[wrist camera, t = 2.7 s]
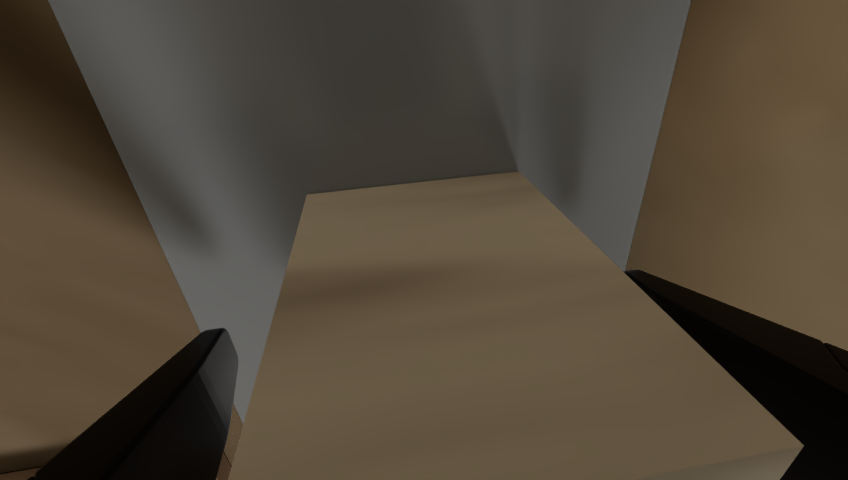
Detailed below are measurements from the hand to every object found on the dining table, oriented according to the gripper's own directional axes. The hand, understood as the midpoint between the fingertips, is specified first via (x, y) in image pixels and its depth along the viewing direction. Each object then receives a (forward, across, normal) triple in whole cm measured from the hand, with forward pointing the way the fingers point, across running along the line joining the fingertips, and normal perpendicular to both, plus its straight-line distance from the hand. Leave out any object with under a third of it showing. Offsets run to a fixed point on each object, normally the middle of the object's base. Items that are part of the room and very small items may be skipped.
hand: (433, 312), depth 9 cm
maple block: (+2, 0, 0) cm, 2 cm away
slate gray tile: (+2, 0, 0) cm, 2 cm away
